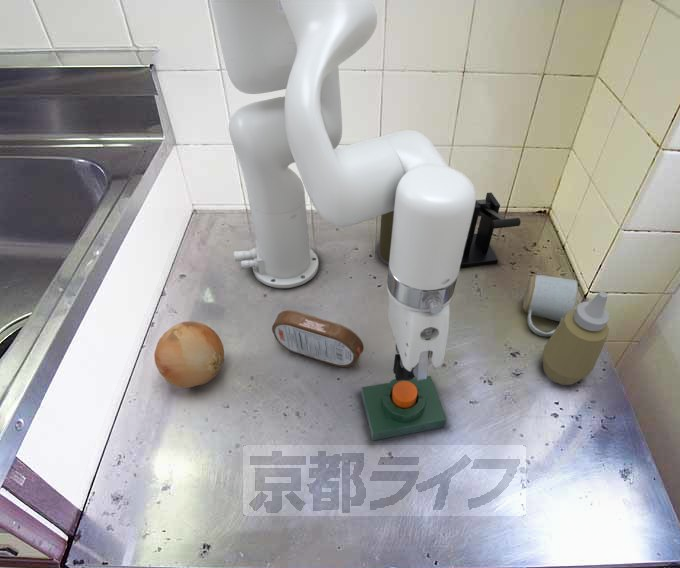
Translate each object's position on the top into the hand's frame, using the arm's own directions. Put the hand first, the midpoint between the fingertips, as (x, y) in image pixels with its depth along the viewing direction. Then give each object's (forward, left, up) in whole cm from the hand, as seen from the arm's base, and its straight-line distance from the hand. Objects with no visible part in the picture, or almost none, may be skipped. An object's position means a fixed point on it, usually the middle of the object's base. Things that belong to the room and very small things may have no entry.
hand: (405, 374), depth 65 cm
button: (0, 0, -5) cm, 5 cm away
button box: (0, 0, -9) cm, 9 cm away
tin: (-11, +13, -9) cm, 19 cm away
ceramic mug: (+31, +14, -9) cm, 35 cm away
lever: (+24, +29, +2) cm, 38 cm away
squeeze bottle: (+28, +2, -9) cm, 30 cm away
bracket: (+24, +34, -9) cm, 42 cm away
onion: (-30, +13, -9) cm, 34 cm away
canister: (+10, +36, -9) cm, 38 cm away
